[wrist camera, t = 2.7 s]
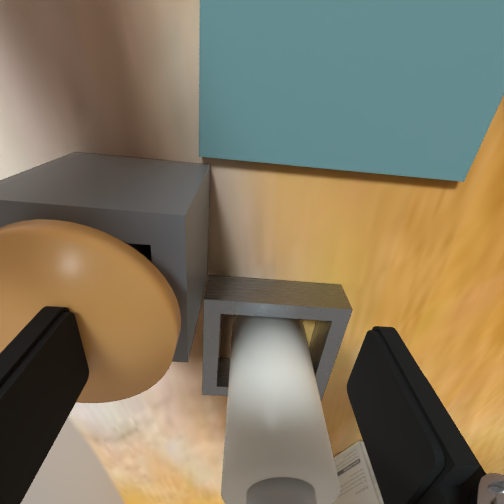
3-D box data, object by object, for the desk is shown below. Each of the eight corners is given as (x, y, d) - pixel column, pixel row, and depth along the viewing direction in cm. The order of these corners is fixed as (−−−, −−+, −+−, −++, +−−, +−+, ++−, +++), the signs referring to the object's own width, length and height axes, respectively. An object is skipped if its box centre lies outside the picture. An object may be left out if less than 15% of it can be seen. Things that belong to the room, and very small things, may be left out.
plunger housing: (210, 164, 16) (185, 215, 9) (207, 273, 19) (187, 362, 13) (74, 152, 15) (-42, 196, 9) (97, 265, 19) (23, 353, 13)
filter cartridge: (309, 303, 20) (363, 497, 11) (296, 355, 23) (331, 548, 13) (234, 298, 20) (221, 492, 10) (230, 351, 23) (216, 545, 13)
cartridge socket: (340, 284, 20) (352, 309, 17) (314, 372, 24) (321, 400, 22) (209, 274, 19) (203, 299, 17) (206, 365, 23) (202, 394, 21)
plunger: (198, 187, 12) (170, 246, 8) (198, 316, 15) (178, 407, 11) (21, 172, 12) (-115, 224, 7) (61, 308, 15) (-15, 398, 11)
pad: (608, -163, 10) (627, -177, 10) (456, 178, 16) (463, 181, 16) (203, -231, 9) (201, -250, 9) (200, 154, 15) (198, 156, 15)
